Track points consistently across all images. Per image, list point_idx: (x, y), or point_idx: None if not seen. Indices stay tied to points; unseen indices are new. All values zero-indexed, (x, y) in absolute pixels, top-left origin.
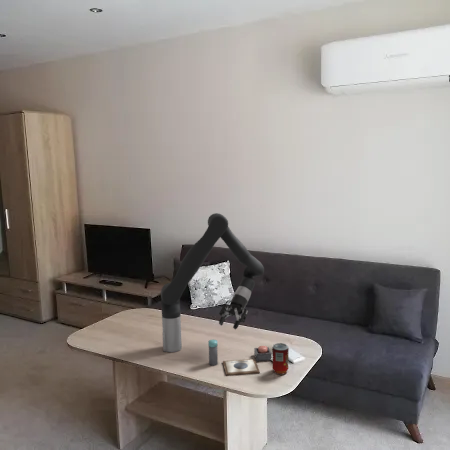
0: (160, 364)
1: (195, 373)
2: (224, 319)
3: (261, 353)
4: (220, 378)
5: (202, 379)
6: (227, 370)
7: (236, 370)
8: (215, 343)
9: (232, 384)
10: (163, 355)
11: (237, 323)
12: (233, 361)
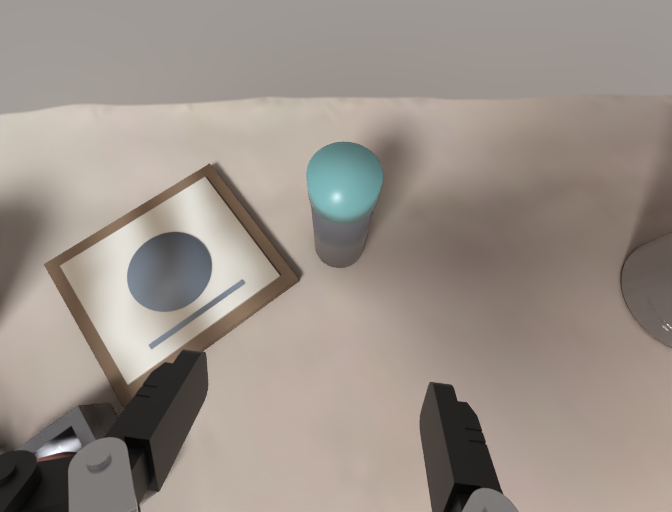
0: (561, 121)
1: (358, 125)
2: (435, 506)
3: (46, 437)
4: (226, 138)
5: (296, 98)
6: (218, 194)
7: (171, 212)
8: (309, 164)
9: (150, 119)
10: (636, 200)
11: (130, 409)
12: (234, 298)
